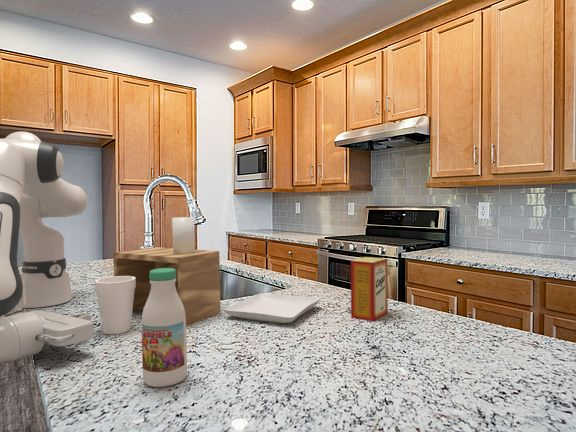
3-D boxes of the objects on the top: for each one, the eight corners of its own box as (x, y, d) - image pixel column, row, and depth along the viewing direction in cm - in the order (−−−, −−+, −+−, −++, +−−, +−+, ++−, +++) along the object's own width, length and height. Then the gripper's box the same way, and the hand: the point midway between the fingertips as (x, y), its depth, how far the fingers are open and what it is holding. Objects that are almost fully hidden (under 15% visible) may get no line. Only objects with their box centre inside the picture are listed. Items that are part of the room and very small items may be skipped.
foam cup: (121, 337, 93) (120, 283, 93) (87, 335, 95) (86, 282, 95) (144, 325, 103) (142, 276, 102) (112, 323, 104) (111, 275, 104)
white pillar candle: (168, 253, 108) (167, 217, 108) (183, 251, 114) (183, 217, 113) (184, 254, 106) (183, 218, 105) (199, 252, 111) (198, 217, 110)
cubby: (115, 313, 114) (113, 252, 113) (155, 302, 127) (153, 247, 126) (183, 327, 101) (181, 257, 100) (220, 312, 114) (219, 251, 113)
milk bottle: (149, 370, 75) (146, 266, 74) (190, 368, 75) (188, 265, 75) (137, 389, 67) (134, 274, 66) (183, 387, 68) (180, 272, 67)
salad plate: (222, 320, 107) (222, 308, 107) (260, 302, 126) (260, 291, 126) (292, 330, 98) (292, 316, 98) (322, 309, 117) (321, 297, 117)
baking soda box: (366, 309, 114) (365, 255, 114) (387, 313, 111) (387, 257, 110) (351, 317, 107) (350, 259, 106) (373, 321, 103) (372, 261, 102)
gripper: (52, 327, 75) (115, 309, 87) (-2, 313, 85) (61, 299, 97) (53, 359, 75) (116, 337, 87) (-1, 342, 85) (62, 324, 97)
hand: (87, 317), depth 92 cm, fingers closed
